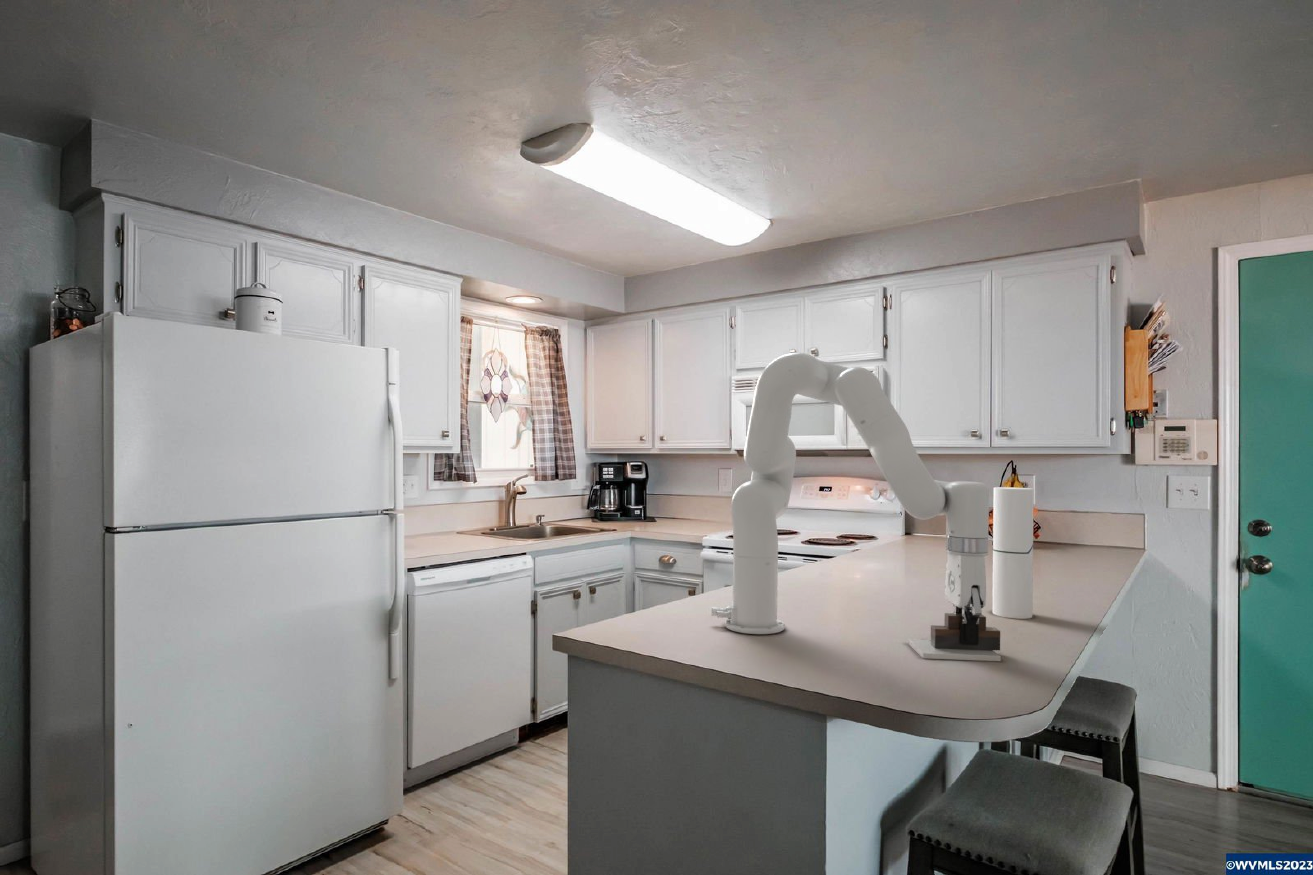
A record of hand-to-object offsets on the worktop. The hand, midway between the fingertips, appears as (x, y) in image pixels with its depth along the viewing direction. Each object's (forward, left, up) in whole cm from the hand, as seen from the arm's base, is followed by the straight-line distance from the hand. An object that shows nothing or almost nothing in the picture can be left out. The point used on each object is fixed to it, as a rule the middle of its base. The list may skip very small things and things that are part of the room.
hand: (965, 641), depth 142 cm
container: (+23, +36, -2) cm, 43 cm away
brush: (0, 0, -1) cm, 1 cm away
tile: (-2, 0, -2) cm, 3 cm away
